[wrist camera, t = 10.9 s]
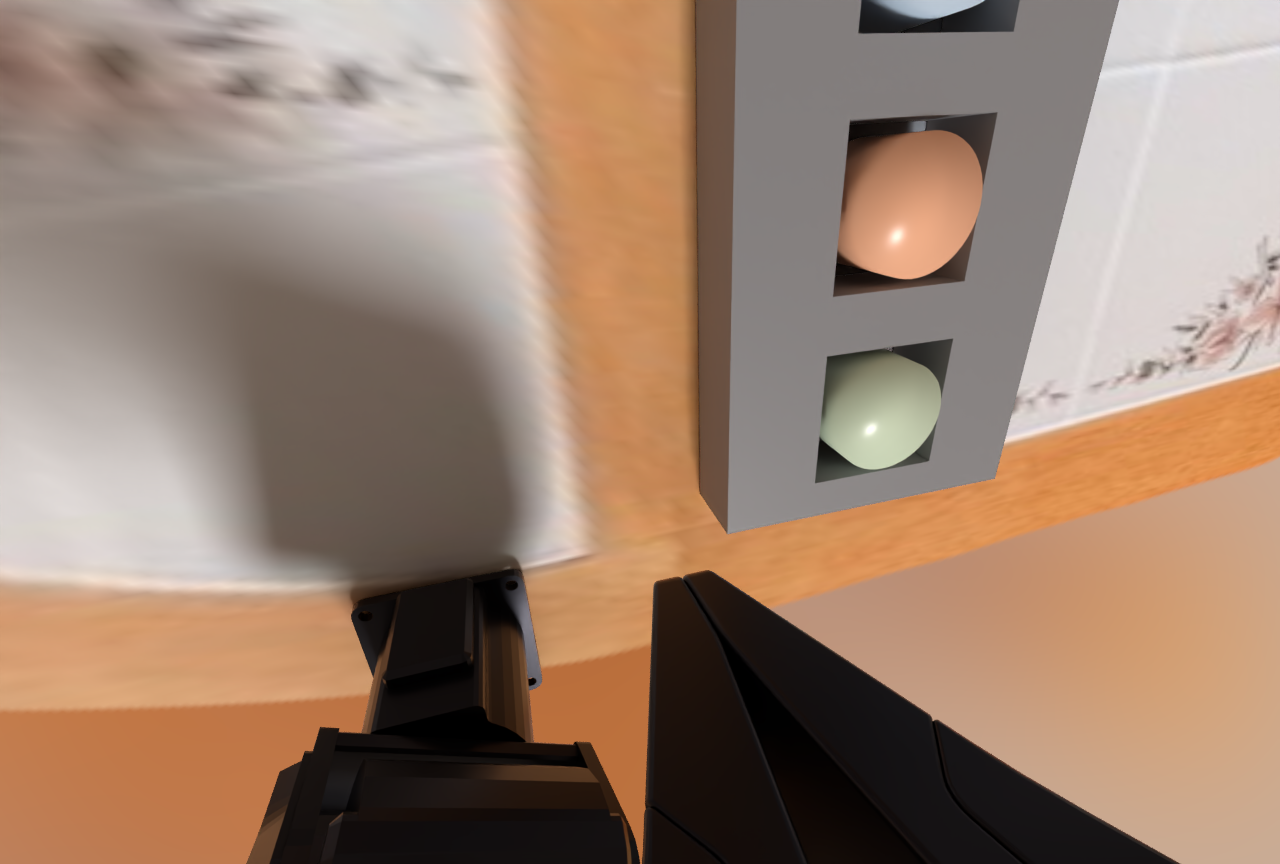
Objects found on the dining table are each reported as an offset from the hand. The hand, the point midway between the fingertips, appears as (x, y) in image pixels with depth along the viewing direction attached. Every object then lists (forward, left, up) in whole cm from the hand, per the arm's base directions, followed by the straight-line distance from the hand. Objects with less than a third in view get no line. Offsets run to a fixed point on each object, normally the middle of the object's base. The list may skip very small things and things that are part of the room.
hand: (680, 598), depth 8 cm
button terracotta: (+4, -11, -13) cm, 17 cm away
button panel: (+4, -11, -13) cm, 17 cm away
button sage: (-3, -11, -13) cm, 17 cm away
